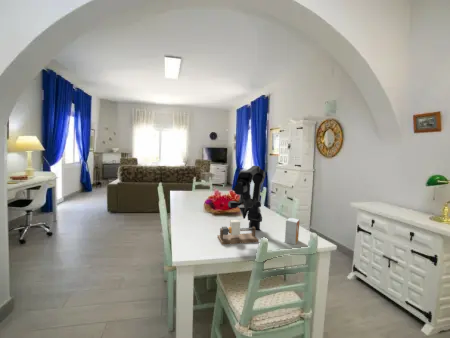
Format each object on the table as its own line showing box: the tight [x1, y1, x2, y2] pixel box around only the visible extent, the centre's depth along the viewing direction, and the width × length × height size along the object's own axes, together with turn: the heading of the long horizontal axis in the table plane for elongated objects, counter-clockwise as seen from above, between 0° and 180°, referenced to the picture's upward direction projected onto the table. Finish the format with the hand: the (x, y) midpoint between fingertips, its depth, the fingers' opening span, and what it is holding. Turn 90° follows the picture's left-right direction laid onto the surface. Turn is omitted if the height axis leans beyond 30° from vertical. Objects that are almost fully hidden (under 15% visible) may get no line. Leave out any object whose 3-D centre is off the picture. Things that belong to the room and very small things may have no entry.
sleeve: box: [229, 219, 241, 235], centre depth 140 cm, size 5×4×8 cm
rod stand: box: [216, 226, 260, 246], centre depth 140 cm, size 22×11×8 cm, turn 105°
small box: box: [284, 217, 300, 245], centre depth 140 cm, size 8×6×13 cm
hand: (244, 218), depth 140 cm, fingers closed
